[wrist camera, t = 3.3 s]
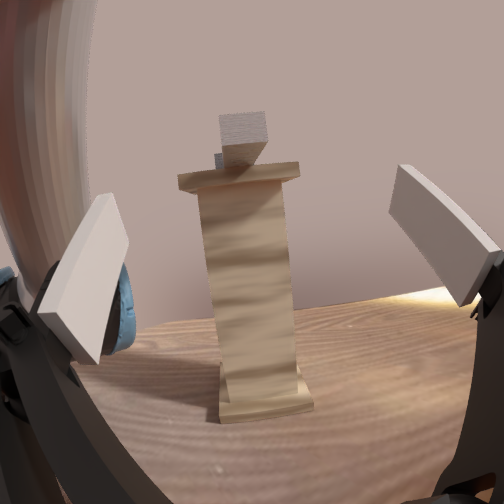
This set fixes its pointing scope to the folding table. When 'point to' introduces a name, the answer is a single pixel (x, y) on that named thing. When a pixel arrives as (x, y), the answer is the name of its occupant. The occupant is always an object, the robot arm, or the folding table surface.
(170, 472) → the folding table surface
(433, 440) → the folding table surface
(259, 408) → the pedestal
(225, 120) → the grey long bar
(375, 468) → the folding table surface
